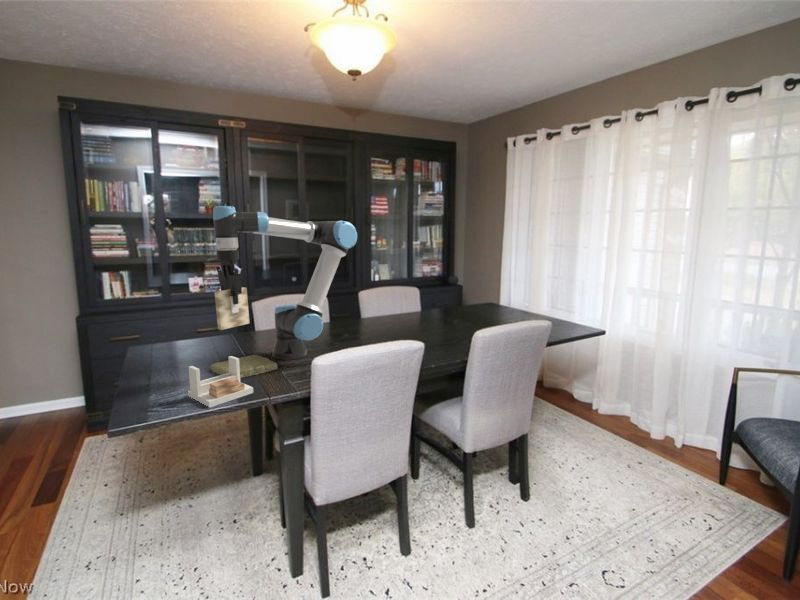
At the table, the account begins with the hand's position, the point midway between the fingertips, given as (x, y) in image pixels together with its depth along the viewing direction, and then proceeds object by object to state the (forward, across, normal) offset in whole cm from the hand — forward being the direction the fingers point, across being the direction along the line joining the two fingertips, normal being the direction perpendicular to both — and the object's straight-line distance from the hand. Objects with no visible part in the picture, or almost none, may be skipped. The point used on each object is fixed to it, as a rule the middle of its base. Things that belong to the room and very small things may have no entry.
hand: (233, 312), depth 158 cm
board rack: (+25, +11, -14) cm, 31 cm away
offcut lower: (+23, +15, -14) cm, 31 cm away
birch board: (+5, 0, 0) cm, 5 cm away
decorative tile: (+27, -6, +7) cm, 28 cm away
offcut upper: (+21, +15, -15) cm, 30 cm away
